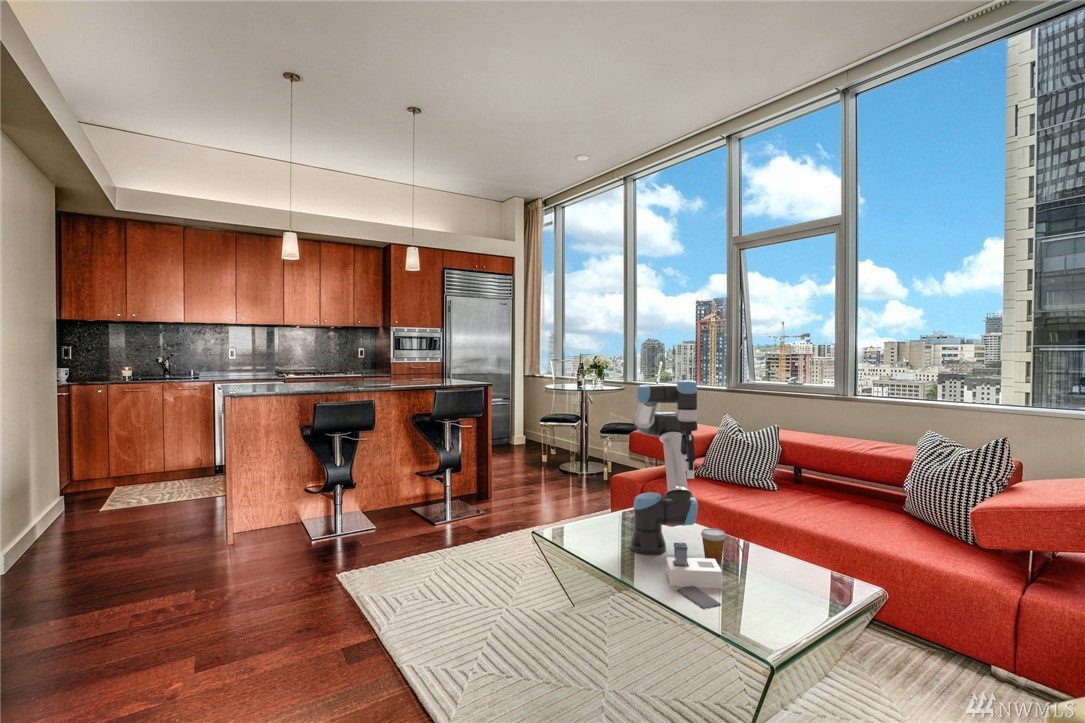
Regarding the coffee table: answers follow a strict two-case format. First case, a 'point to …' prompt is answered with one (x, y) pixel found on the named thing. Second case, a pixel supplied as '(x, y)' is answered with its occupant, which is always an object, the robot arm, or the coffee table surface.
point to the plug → (680, 554)
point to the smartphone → (698, 597)
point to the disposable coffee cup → (713, 543)
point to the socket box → (695, 573)
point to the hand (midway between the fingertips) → (687, 474)
